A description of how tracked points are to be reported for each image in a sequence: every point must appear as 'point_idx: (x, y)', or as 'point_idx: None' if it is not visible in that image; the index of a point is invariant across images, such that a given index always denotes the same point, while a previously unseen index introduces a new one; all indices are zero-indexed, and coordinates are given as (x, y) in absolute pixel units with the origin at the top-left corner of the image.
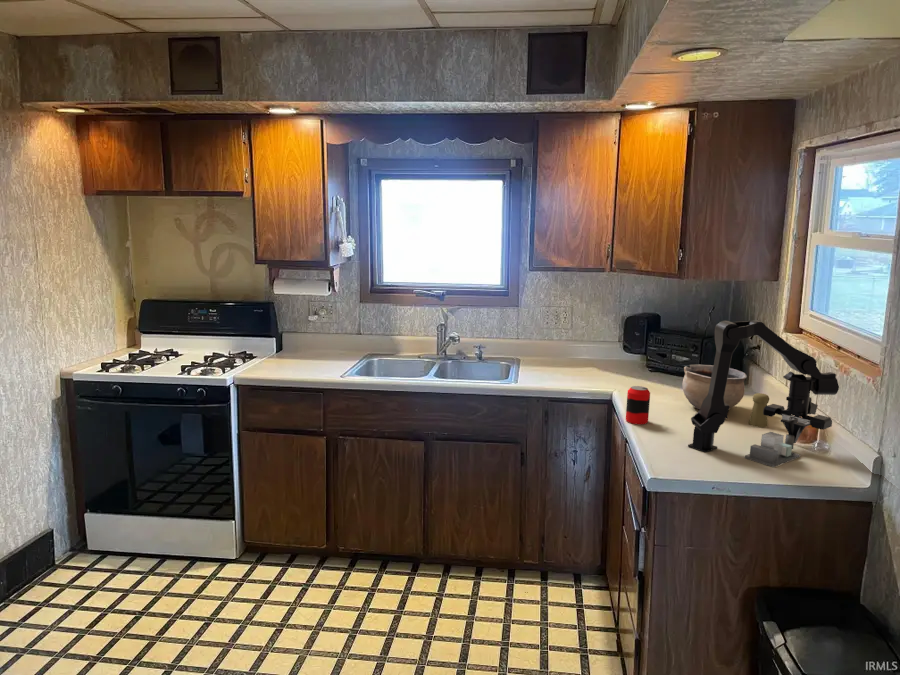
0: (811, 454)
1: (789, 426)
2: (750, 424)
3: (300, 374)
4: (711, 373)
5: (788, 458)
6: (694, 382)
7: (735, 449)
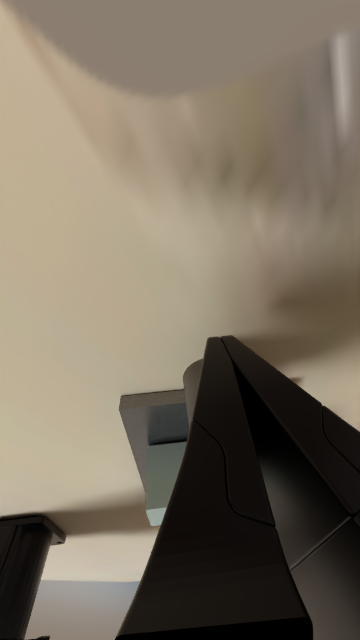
0: (331, 287)
1: (242, 623)
2: None
3: None
4: None
5: None
6: None
7: (68, 487)
